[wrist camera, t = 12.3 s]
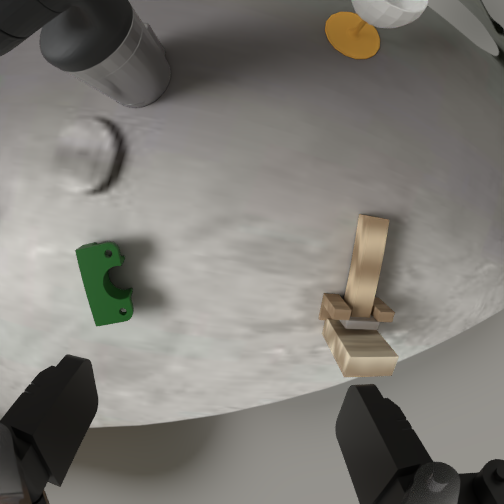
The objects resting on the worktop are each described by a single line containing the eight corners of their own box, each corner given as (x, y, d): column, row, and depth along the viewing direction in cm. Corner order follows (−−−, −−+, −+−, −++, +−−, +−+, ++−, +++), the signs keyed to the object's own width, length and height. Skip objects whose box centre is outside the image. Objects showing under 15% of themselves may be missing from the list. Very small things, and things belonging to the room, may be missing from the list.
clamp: (136, 287, 48) (138, 327, 41) (103, 294, 47) (100, 334, 40) (117, 224, 41) (113, 260, 34) (80, 232, 40) (70, 269, 33)
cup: (314, 17, 35) (344, -42, 20) (362, 8, 35) (404, -42, 19) (341, 65, 37) (386, 18, 22) (389, 54, 37) (443, 14, 21)
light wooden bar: (352, 213, 42) (367, 216, 37) (383, 218, 43) (400, 222, 37) (334, 313, 45) (345, 328, 40) (363, 315, 45) (377, 329, 40)
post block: (323, 293, 45) (349, 329, 33) (378, 297, 46) (414, 331, 34) (315, 333, 46) (335, 377, 35) (368, 335, 47) (398, 375, 35)
